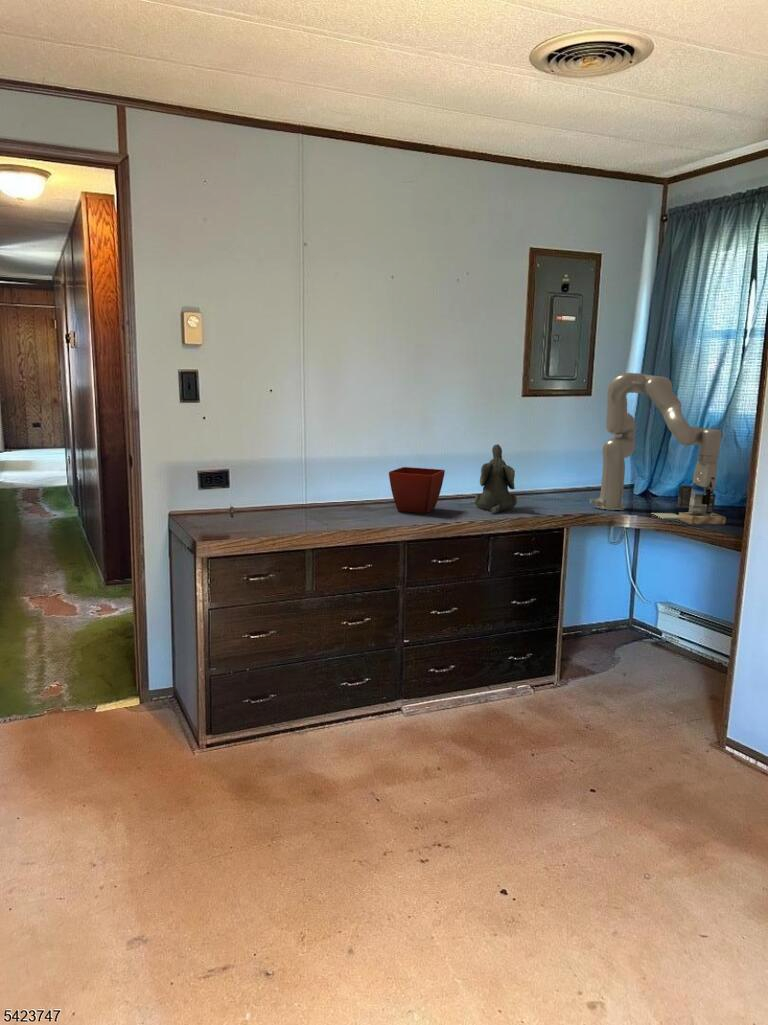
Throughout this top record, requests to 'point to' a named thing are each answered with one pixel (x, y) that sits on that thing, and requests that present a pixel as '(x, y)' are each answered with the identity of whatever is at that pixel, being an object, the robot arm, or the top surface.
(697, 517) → the pocket block
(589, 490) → the top surface
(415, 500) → the plant pot
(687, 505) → the small box
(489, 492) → the grey seated figure statue
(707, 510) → the label tape box
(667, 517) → the pad
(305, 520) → the top surface
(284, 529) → the top surface
